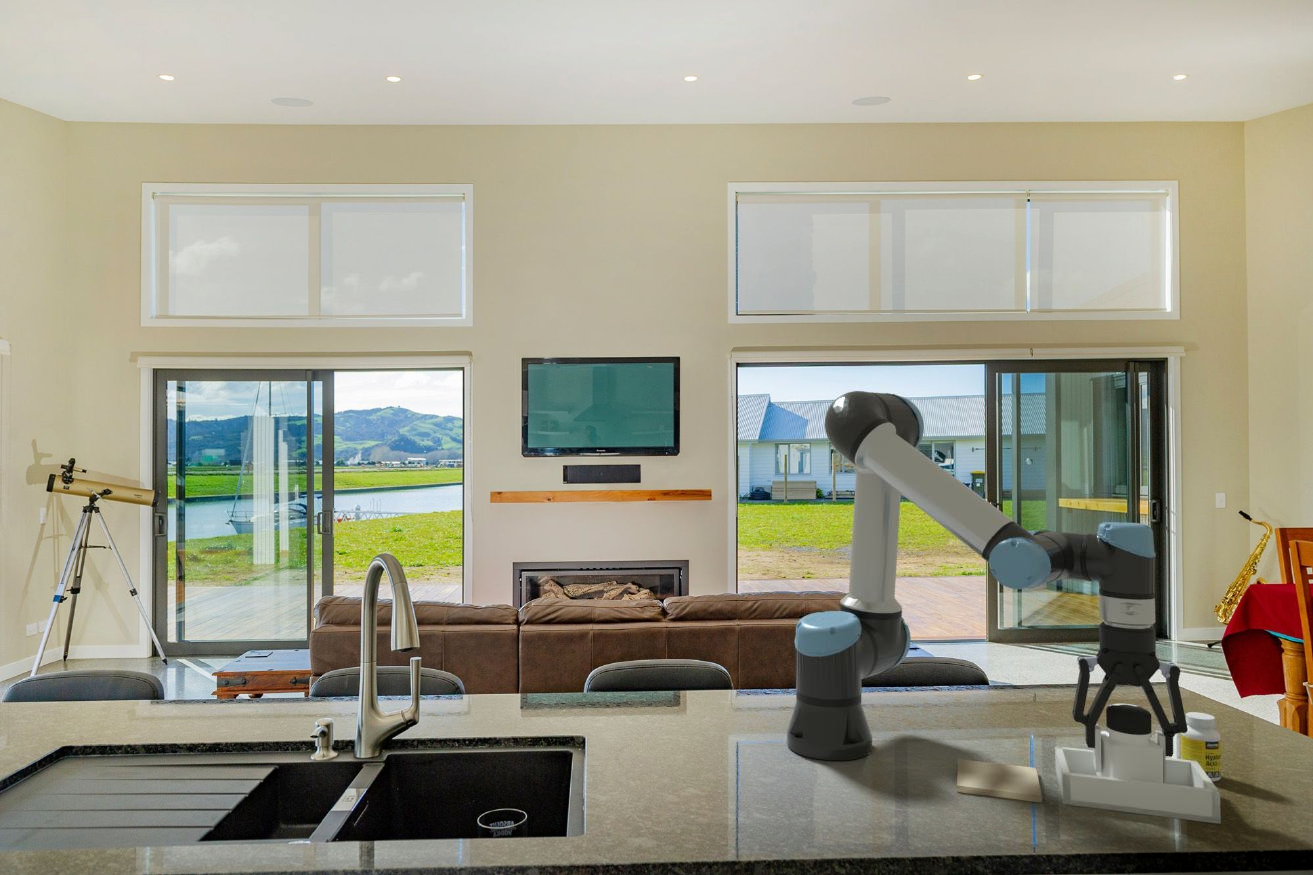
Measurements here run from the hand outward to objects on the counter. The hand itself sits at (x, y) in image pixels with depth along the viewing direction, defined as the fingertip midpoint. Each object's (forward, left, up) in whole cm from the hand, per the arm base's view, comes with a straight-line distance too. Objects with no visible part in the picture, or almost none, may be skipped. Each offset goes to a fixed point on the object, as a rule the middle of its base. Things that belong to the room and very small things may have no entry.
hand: (1128, 772), depth 127 cm
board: (-19, -1, -4) cm, 19 cm away
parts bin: (0, 0, -4) cm, 4 cm away
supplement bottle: (+12, +13, -4) cm, 18 cm away
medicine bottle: (0, 0, -2) cm, 2 cm away
